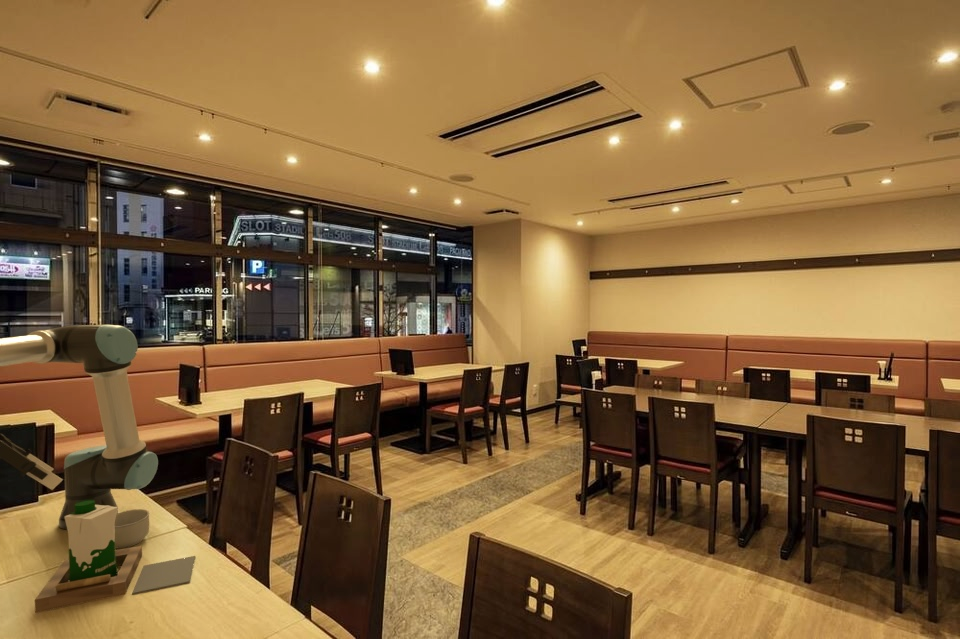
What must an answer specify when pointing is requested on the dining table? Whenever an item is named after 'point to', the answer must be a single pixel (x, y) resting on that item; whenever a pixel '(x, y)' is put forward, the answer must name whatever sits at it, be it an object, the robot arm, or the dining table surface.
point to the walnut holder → (88, 583)
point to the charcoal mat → (164, 574)
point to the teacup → (131, 527)
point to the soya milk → (91, 540)
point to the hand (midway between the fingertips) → (53, 478)
